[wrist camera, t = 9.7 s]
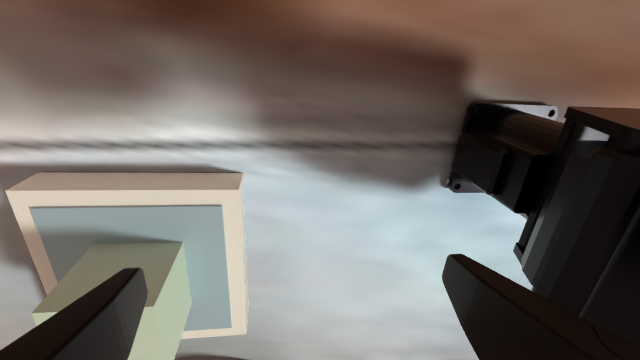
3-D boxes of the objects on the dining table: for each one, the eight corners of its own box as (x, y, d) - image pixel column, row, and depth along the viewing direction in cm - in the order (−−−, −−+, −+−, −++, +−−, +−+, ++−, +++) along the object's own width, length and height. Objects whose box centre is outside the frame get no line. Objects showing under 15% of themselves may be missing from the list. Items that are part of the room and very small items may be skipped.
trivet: (242, 173, 20) (238, 191, 18) (248, 307, 25) (246, 336, 23) (38, 172, 18) (2, 192, 16) (87, 317, 23) (65, 349, 21)
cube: (183, 242, 19) (153, 306, 14) (191, 303, 21) (168, 376, 16) (92, 244, 18) (31, 313, 13) (110, 308, 20) (63, 386, 15)
